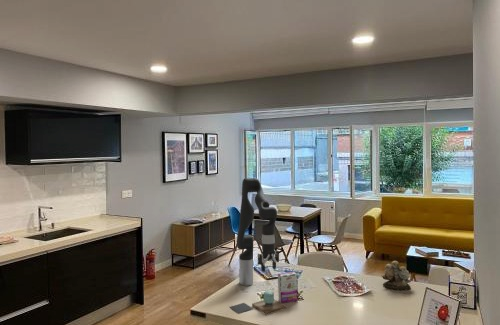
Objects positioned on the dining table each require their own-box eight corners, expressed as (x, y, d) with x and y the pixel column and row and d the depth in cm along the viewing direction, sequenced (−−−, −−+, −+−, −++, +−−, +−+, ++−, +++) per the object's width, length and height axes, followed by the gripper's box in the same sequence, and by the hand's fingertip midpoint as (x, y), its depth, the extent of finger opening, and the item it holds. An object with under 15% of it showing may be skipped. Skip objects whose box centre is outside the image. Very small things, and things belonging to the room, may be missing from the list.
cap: (261, 300, 218) (261, 291, 218) (270, 298, 221) (269, 289, 221) (267, 304, 213) (267, 294, 213) (276, 301, 216) (276, 292, 216)
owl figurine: (382, 289, 241) (382, 263, 240) (380, 283, 252) (379, 258, 252) (412, 291, 237) (412, 264, 237) (408, 284, 249) (408, 259, 248)
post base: (252, 305, 219) (252, 293, 219) (271, 300, 227) (271, 288, 227) (266, 314, 207) (266, 301, 207) (286, 308, 215) (285, 295, 215)
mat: (229, 307, 218) (229, 306, 218) (244, 303, 223) (244, 302, 223) (238, 313, 209) (238, 312, 209) (253, 309, 215) (253, 308, 215)
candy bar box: (295, 297, 230) (294, 271, 229) (298, 300, 225) (297, 274, 225) (277, 300, 227) (277, 273, 226) (280, 303, 222) (280, 276, 222)
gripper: (274, 238, 223) (274, 266, 223) (254, 242, 215) (254, 270, 216) (282, 241, 217) (282, 269, 217) (261, 245, 209) (262, 274, 209)
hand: (268, 270), depth 216 cm, fingers open, 7 cm apart
